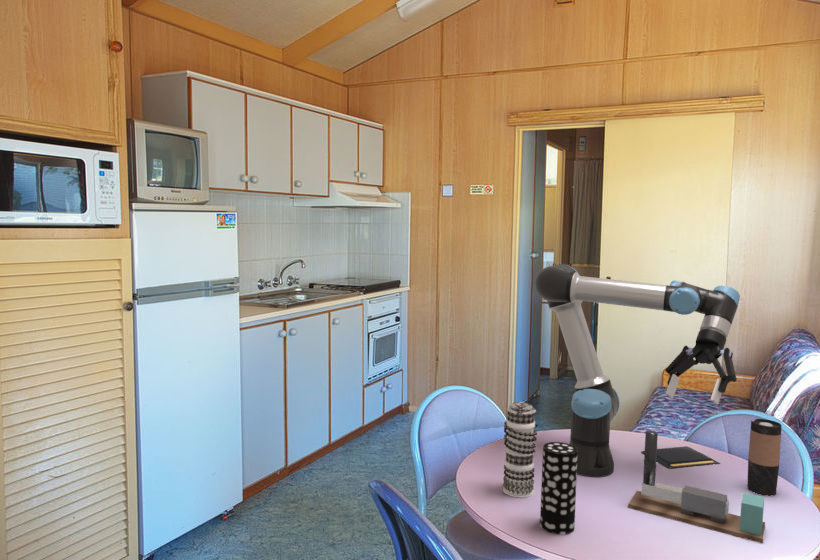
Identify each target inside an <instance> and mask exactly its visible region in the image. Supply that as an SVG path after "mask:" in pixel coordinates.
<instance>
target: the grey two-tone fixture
mask: <svg viewBox="0 0 820 560" xmlns="http://www.w3.org/2000/svg"><path fill="white" fill-rule="evenodd" d="M658 435H659V434H658V432H657V431H656V430H645V438H644V451H645V454H643V456H644V457H643V458H644V459H643V472H642V473H643V474H642V475H643V476H642V477H643V479H642V483H641V494H642V495H646V496H650V497H654V498H658V499H662V500H666V501H670V502H674V503H678V504H681V498H682V490H683V488H681V487H676V486H673V485H668V484H665V483H660V482H656V472H657V462H656V456H657V449H658ZM729 506H730V499H728V498H727V500H726V504H725V515H726V516H727V514H728V513H729V510H730V509H729Z"/></svg>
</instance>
